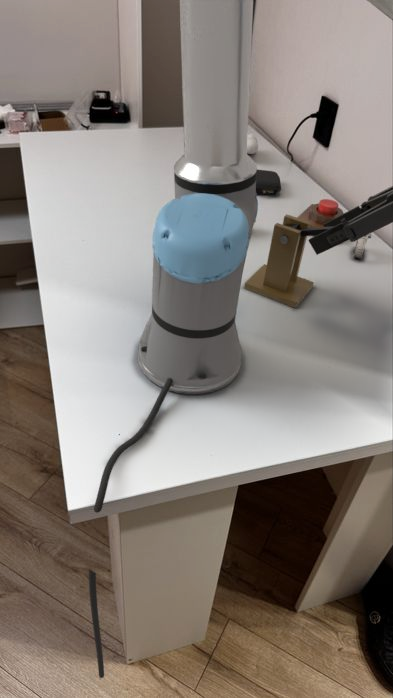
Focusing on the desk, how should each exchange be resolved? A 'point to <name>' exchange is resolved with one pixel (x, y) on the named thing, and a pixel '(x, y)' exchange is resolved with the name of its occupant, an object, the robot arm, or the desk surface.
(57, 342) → the desk surface
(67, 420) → the desk surface
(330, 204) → the button
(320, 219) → the switch block
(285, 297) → the bracket
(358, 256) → the wristwatch
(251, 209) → the robot arm
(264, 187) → the carrying case
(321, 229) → the pivoting switch lever
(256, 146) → the clip-on lamp
